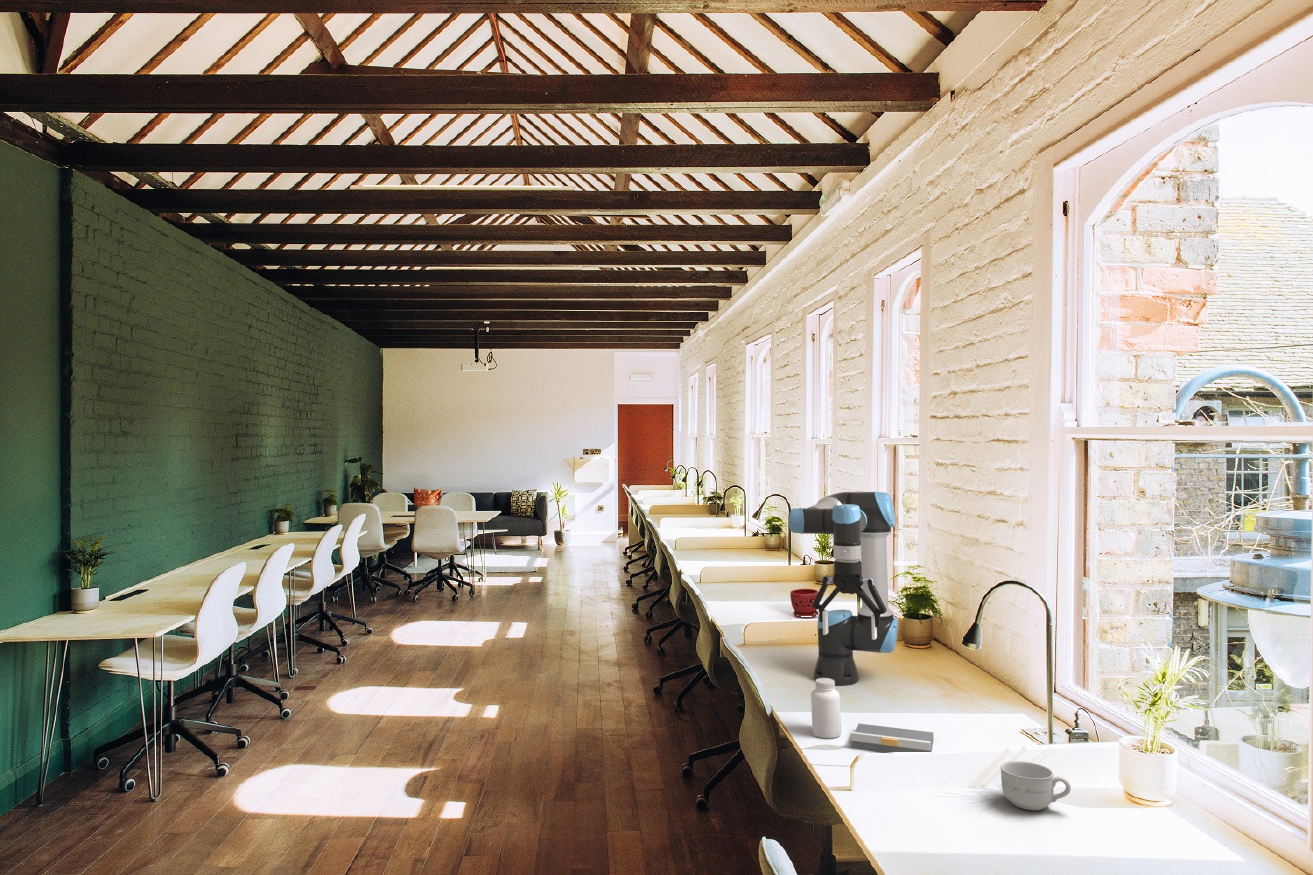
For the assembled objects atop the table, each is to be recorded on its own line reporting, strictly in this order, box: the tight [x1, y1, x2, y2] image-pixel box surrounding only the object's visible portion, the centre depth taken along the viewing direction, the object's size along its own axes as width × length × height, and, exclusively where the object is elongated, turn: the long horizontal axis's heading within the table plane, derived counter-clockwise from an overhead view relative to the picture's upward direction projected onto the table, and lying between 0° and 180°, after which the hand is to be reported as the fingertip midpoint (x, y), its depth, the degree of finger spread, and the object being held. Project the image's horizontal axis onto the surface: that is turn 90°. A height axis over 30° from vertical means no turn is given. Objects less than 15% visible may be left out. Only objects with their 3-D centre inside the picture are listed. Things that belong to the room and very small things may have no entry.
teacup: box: [999, 760, 1072, 811], centre depth 167 cm, size 14×11×8 cm
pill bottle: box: [810, 678, 842, 739], centre depth 211 cm, size 8×8×15 cm
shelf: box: [850, 722, 934, 753], centre depth 203 cm, size 14×20×4 cm
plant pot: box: [789, 588, 819, 619], centre depth 353 cm, size 13×13×12 cm
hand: (849, 636), depth 209 cm, fingers open, 13 cm apart
